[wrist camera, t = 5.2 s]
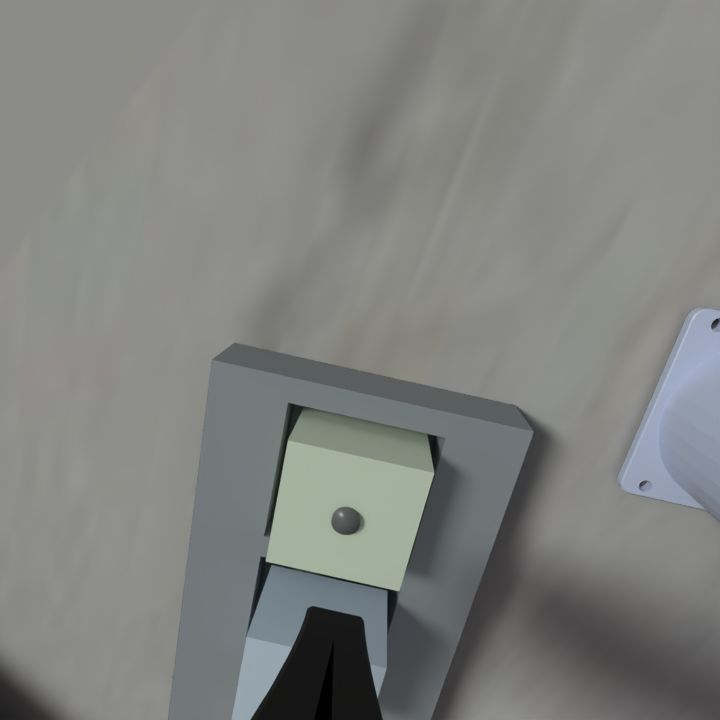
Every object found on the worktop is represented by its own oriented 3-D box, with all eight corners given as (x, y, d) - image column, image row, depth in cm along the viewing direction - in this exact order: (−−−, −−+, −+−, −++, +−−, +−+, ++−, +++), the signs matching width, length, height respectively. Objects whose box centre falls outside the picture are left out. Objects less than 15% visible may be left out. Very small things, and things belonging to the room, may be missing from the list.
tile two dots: (387, 591, 19) (386, 673, 16) (362, 677, 20) (356, 771, 17) (271, 564, 19) (244, 642, 16) (254, 653, 20) (226, 742, 17)
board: (515, 405, 19) (533, 431, 16) (394, 764, 25) (394, 821, 23) (234, 342, 19) (211, 359, 16) (183, 717, 25) (161, 768, 23)
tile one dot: (426, 428, 18) (434, 476, 15) (397, 530, 20) (399, 595, 16) (306, 401, 18) (286, 443, 15) (286, 505, 20) (264, 565, 16)
